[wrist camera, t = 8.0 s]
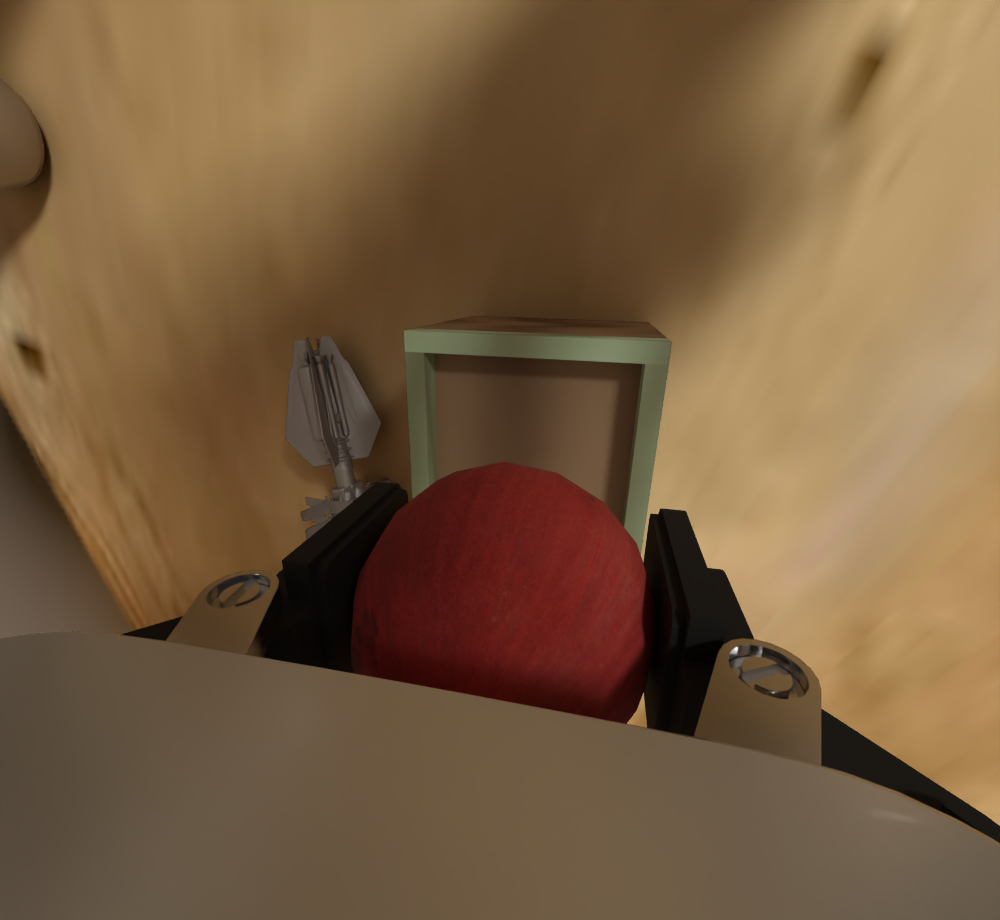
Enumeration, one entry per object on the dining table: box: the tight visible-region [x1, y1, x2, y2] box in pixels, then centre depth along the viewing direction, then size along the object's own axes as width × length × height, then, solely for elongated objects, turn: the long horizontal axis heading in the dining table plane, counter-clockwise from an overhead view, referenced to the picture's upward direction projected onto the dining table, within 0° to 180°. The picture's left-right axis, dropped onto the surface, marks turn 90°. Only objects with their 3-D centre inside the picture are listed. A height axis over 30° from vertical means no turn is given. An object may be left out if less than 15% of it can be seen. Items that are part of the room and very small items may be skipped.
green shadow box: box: [404, 316, 672, 555], centre depth 24 cm, size 10×11×10 cm
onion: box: [351, 461, 656, 724], centre depth 9 cm, size 6×6×8 cm
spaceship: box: [285, 336, 391, 538], centre depth 32 cm, size 8×35×8 cm
